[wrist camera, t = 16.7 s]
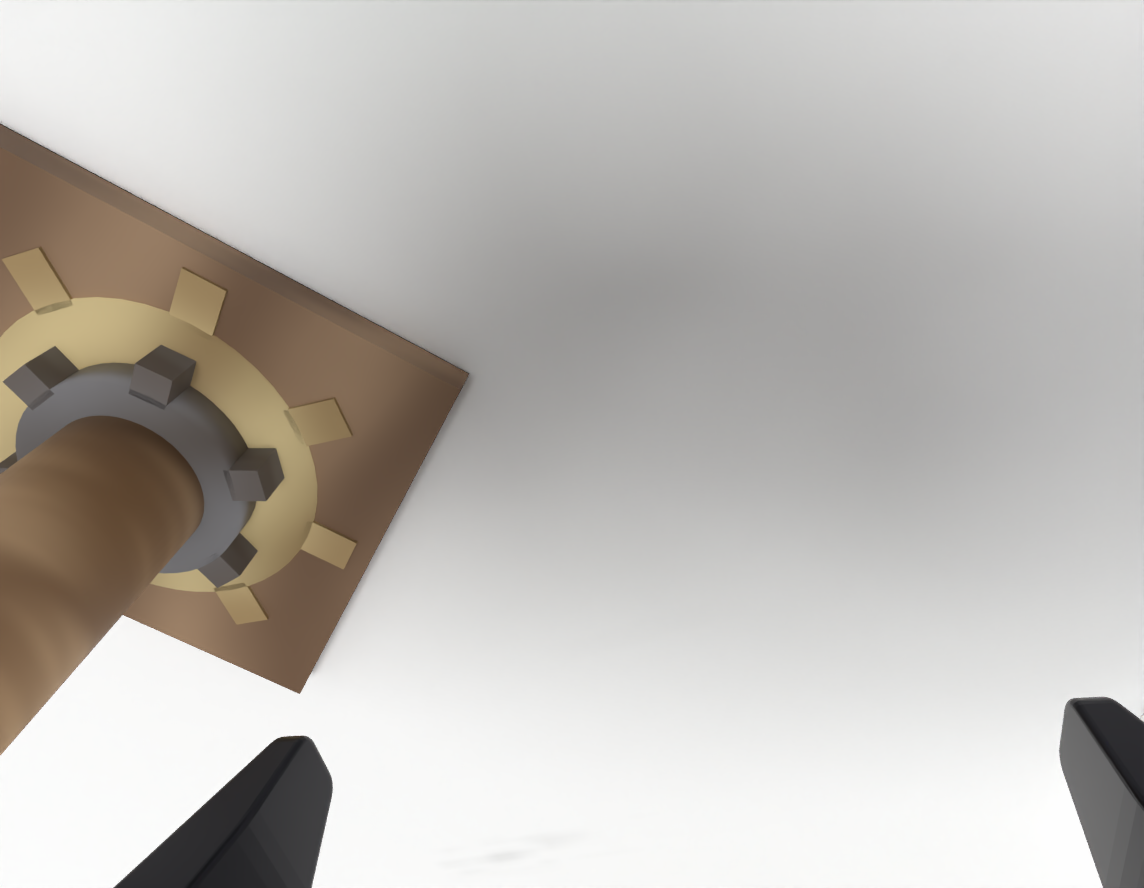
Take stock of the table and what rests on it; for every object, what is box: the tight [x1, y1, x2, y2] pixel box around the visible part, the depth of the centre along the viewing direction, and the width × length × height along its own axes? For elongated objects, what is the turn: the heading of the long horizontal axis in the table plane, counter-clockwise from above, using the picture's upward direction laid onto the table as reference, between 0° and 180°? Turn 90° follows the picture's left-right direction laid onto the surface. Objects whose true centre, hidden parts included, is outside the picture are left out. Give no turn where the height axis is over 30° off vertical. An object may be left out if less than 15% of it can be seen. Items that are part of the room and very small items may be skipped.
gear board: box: [0, 124, 469, 694], centre depth 24 cm, size 14×14×1 cm
